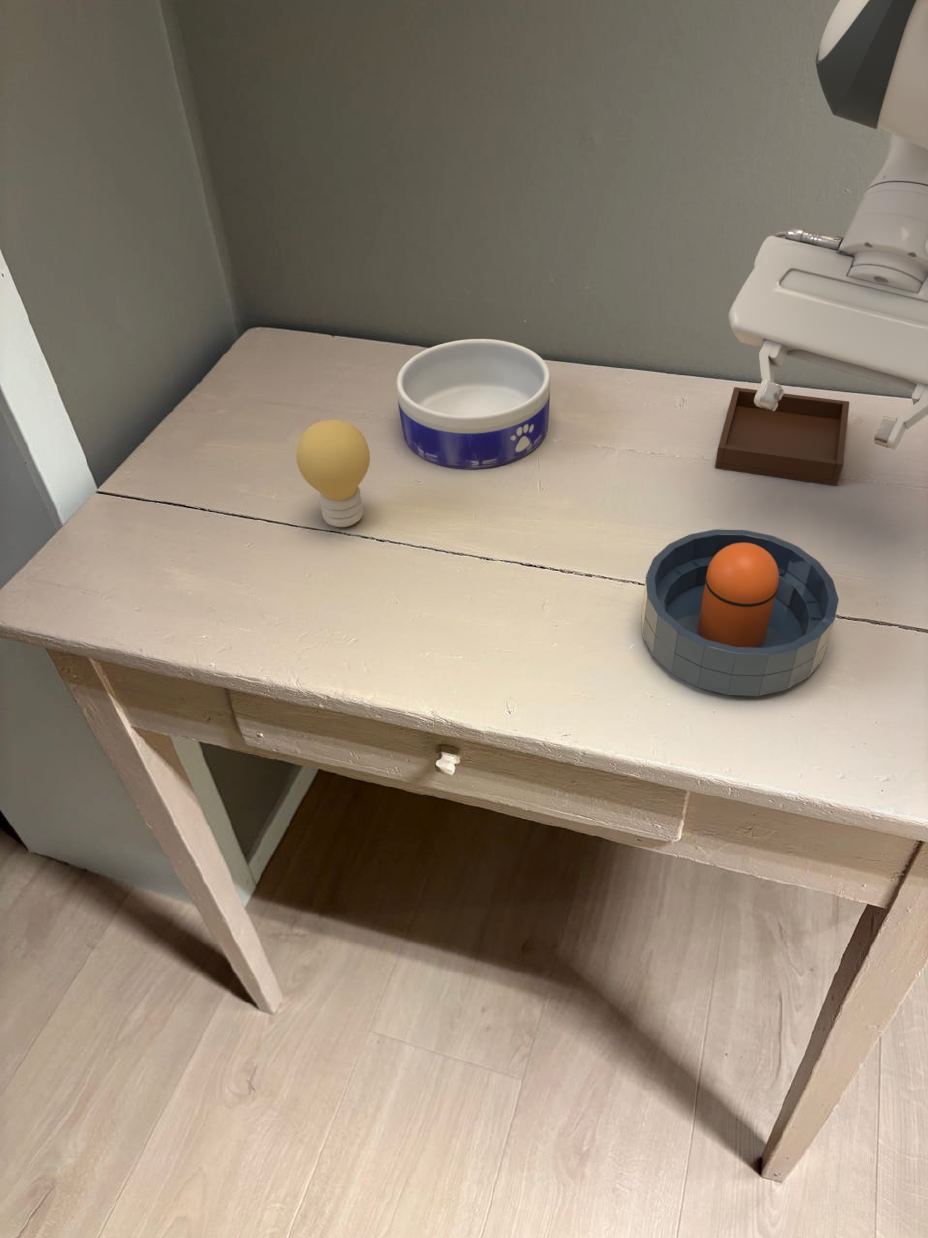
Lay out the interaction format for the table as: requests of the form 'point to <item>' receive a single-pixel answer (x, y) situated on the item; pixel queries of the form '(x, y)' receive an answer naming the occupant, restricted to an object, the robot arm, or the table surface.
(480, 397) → the dog bowl
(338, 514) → the light bulb
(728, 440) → the tray
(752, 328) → the robot arm
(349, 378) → the table surface
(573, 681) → the table surface
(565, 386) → the table surface
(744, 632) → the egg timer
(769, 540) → the glazed bowl
